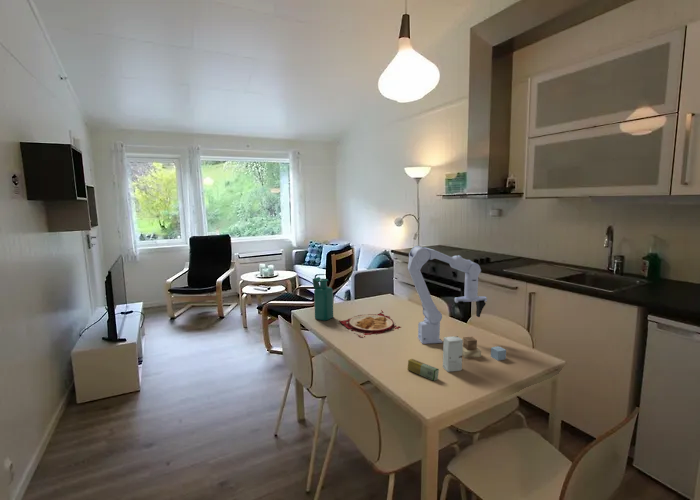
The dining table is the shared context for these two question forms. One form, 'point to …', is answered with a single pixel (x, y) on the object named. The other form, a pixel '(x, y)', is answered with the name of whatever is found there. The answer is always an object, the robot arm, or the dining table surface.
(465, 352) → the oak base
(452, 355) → the skincare box
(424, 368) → the medication box
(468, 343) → the walnut block
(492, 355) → the slate block
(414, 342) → the dining table surface
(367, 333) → the plate with food
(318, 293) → the green tall canister
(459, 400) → the dining table surface
